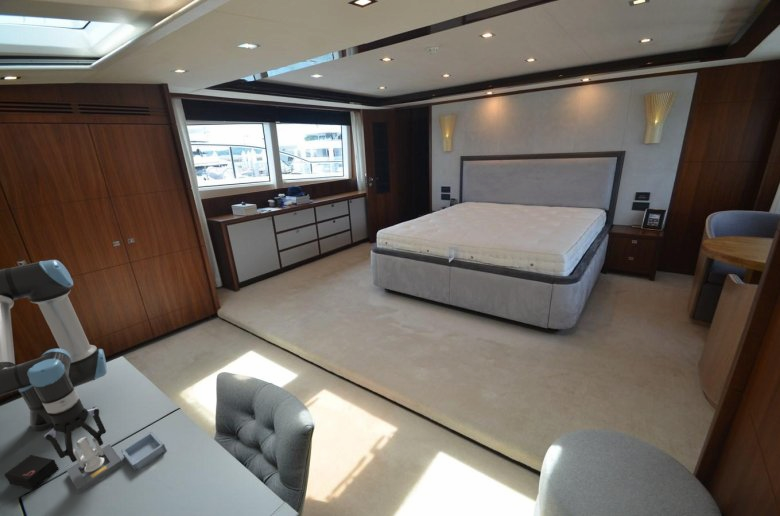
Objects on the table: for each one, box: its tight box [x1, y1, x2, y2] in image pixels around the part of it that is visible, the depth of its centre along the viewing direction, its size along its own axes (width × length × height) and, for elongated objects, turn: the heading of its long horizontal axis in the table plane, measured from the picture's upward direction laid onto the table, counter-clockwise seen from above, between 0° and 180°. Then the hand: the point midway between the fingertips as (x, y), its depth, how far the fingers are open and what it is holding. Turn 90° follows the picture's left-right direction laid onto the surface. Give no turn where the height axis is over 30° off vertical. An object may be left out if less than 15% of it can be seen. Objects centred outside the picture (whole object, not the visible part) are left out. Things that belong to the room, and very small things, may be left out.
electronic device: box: [4, 454, 60, 490], centre depth 113 cm, size 7×11×5 cm
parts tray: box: [121, 431, 167, 473], centre depth 119 cm, size 11×10×3 cm
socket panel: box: [66, 444, 124, 494], centre depth 114 cm, size 12×12×2 cm
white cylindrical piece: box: [76, 436, 105, 473], centre depth 112 cm, size 5×5×12 cm
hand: (91, 459), depth 113 cm, fingers closed on white cylindrical piece, 4 cm apart
